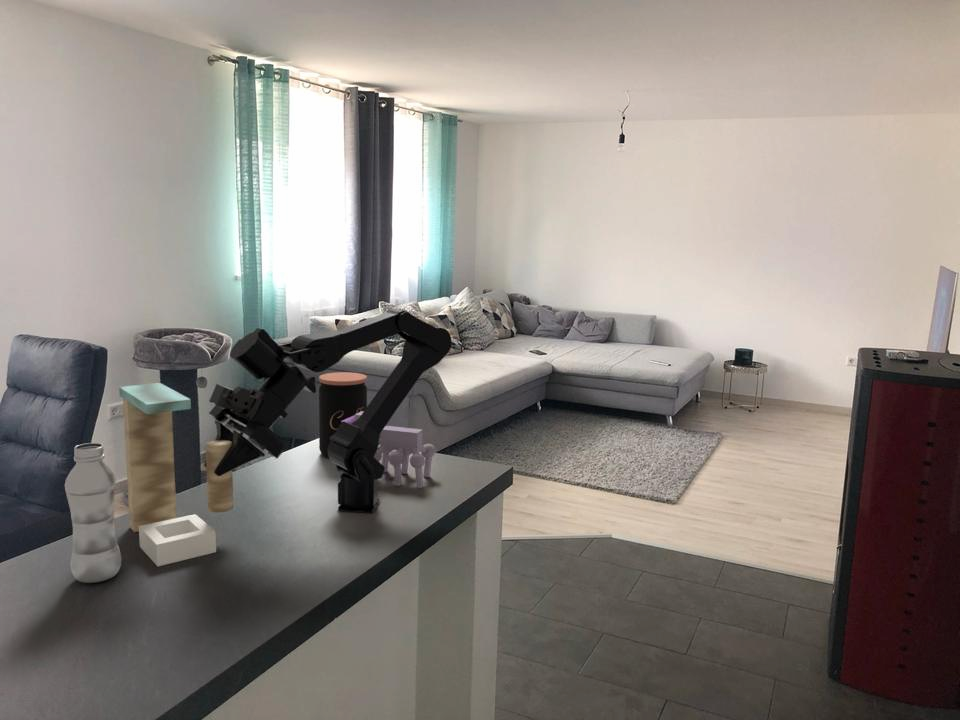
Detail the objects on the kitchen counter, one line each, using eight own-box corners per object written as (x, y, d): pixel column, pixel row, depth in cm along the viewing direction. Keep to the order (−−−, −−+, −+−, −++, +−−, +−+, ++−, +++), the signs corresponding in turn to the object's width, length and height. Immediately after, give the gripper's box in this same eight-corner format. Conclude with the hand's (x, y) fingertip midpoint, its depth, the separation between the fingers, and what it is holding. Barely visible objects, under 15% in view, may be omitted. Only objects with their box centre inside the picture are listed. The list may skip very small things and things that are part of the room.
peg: (238, 507, 128) (236, 442, 127) (217, 514, 125) (216, 448, 123) (223, 502, 131) (221, 438, 129) (202, 508, 127) (200, 443, 126)
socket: (196, 533, 131) (195, 514, 130) (216, 552, 124) (215, 531, 123) (139, 546, 125) (138, 526, 124) (157, 566, 118) (156, 544, 118)
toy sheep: (329, 479, 160) (330, 414, 158) (351, 467, 170) (353, 405, 168) (420, 491, 154) (422, 423, 153) (438, 477, 164) (440, 414, 163)
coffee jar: (327, 463, 171) (326, 382, 167) (313, 450, 180) (313, 373, 177) (373, 457, 175) (373, 379, 172) (358, 445, 185) (358, 370, 182)
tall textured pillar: (171, 518, 137) (165, 382, 133) (202, 546, 126) (197, 398, 121) (126, 528, 132) (119, 386, 128) (154, 558, 121) (146, 404, 117)
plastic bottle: (130, 578, 114) (122, 446, 111) (81, 593, 109) (72, 456, 106) (111, 564, 118) (104, 437, 115) (64, 578, 113) (54, 446, 110)
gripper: (219, 357, 134) (155, 429, 129) (264, 375, 119) (194, 456, 114) (263, 397, 140) (204, 467, 135) (312, 418, 126) (247, 497, 121)
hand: (211, 470), depth 126 cm, fingers closed on peg, 4 cm apart
